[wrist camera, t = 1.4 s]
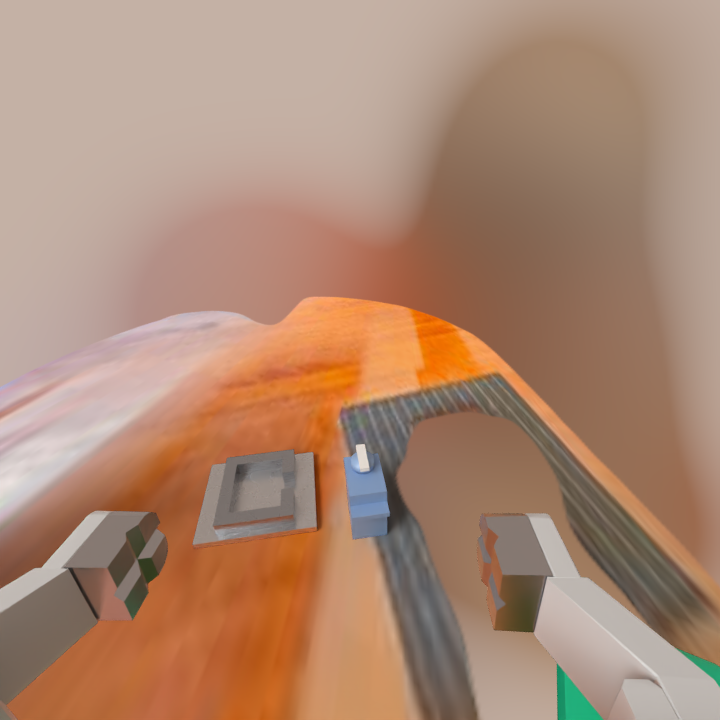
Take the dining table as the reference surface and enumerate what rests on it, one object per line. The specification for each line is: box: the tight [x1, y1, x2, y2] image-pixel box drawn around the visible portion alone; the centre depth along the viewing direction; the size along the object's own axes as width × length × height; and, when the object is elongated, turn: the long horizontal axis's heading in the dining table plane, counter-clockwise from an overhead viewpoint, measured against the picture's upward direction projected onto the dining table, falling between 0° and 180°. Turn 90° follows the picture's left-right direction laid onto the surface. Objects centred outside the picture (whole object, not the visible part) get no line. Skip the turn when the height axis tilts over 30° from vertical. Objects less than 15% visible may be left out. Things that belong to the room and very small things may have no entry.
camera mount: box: [557, 648, 720, 720], centre depth 28 cm, size 12×8×10 cm, turn 158°
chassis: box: [192, 449, 317, 549], centre depth 49 cm, size 14×12×2 cm
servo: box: [344, 444, 390, 539], centre depth 44 cm, size 4×8×9 cm, turn 8°
